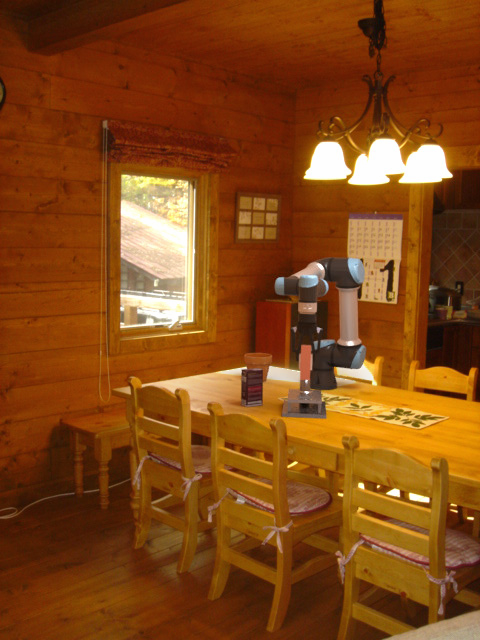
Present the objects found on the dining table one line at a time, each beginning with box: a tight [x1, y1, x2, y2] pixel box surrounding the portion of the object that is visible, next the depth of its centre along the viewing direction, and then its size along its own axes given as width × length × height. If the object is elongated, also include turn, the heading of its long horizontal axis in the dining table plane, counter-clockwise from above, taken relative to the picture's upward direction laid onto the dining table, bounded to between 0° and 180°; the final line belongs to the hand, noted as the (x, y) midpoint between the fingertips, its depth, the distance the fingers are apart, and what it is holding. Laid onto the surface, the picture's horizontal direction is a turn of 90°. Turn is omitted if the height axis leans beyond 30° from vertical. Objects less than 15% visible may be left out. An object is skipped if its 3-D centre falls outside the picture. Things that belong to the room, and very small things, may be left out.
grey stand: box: [281, 379, 327, 419], centre depth 308 cm, size 18×24×13 cm
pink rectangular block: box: [299, 344, 311, 381], centre depth 300 cm, size 4×4×14 cm
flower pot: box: [243, 352, 273, 382], centre depth 372 cm, size 14×14×13 cm
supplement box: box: [240, 368, 264, 408], centre depth 315 cm, size 9×5×16 cm, turn 121°
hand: (305, 369), depth 300 cm, fingers closed on pink rectangular block, 4 cm apart
